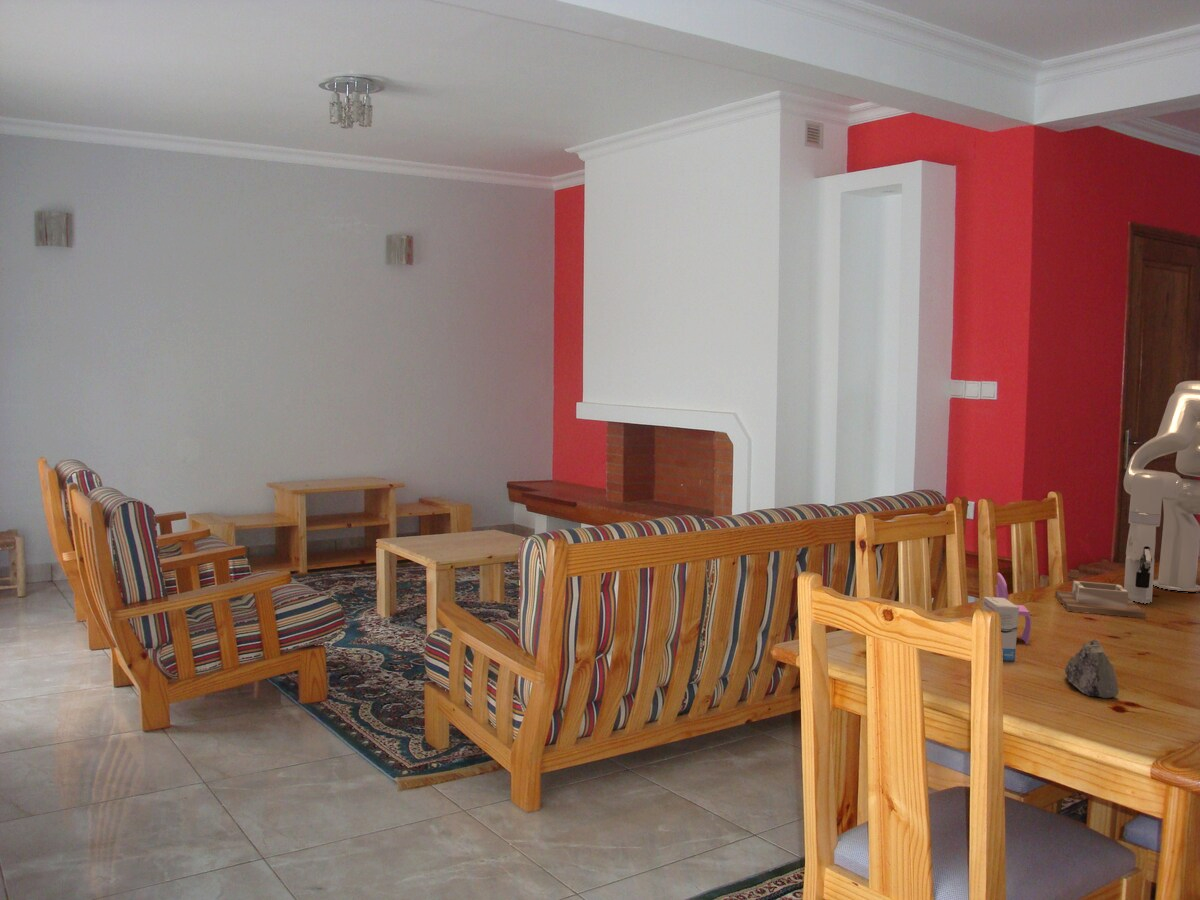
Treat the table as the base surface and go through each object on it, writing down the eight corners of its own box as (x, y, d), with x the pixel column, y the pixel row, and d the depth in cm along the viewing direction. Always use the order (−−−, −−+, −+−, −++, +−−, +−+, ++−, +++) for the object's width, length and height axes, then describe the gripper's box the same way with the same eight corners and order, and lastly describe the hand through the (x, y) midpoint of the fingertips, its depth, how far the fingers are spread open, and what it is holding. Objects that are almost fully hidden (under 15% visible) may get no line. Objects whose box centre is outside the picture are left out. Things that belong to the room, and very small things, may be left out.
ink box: (1015, 661, 217) (1020, 606, 216) (992, 660, 217) (996, 605, 216) (1000, 650, 225) (1005, 597, 224) (978, 649, 225) (982, 596, 224)
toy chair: (1031, 646, 230) (1036, 579, 228) (989, 642, 231) (994, 576, 230) (1023, 636, 238) (1029, 572, 236) (983, 632, 240) (988, 568, 238)
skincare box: (1152, 602, 278) (1156, 558, 277) (1145, 604, 275) (1149, 560, 274) (1128, 597, 283) (1132, 554, 282) (1121, 599, 280) (1125, 555, 279)
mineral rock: (1067, 674, 209) (1071, 626, 208) (1126, 686, 203) (1130, 636, 202) (1054, 690, 199) (1058, 639, 198) (1115, 703, 193) (1120, 650, 192)
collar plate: (1055, 596, 281) (1056, 576, 281) (1127, 602, 277) (1129, 582, 276) (1067, 611, 264) (1069, 590, 263) (1145, 618, 259) (1147, 597, 259)
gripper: (1121, 513, 286) (1115, 576, 288) (1137, 522, 269) (1131, 590, 271) (1151, 515, 284) (1145, 579, 286) (1169, 525, 268) (1162, 592, 269)
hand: (1138, 584), depth 279 cm, fingers closed on skincare box, 6 cm apart
